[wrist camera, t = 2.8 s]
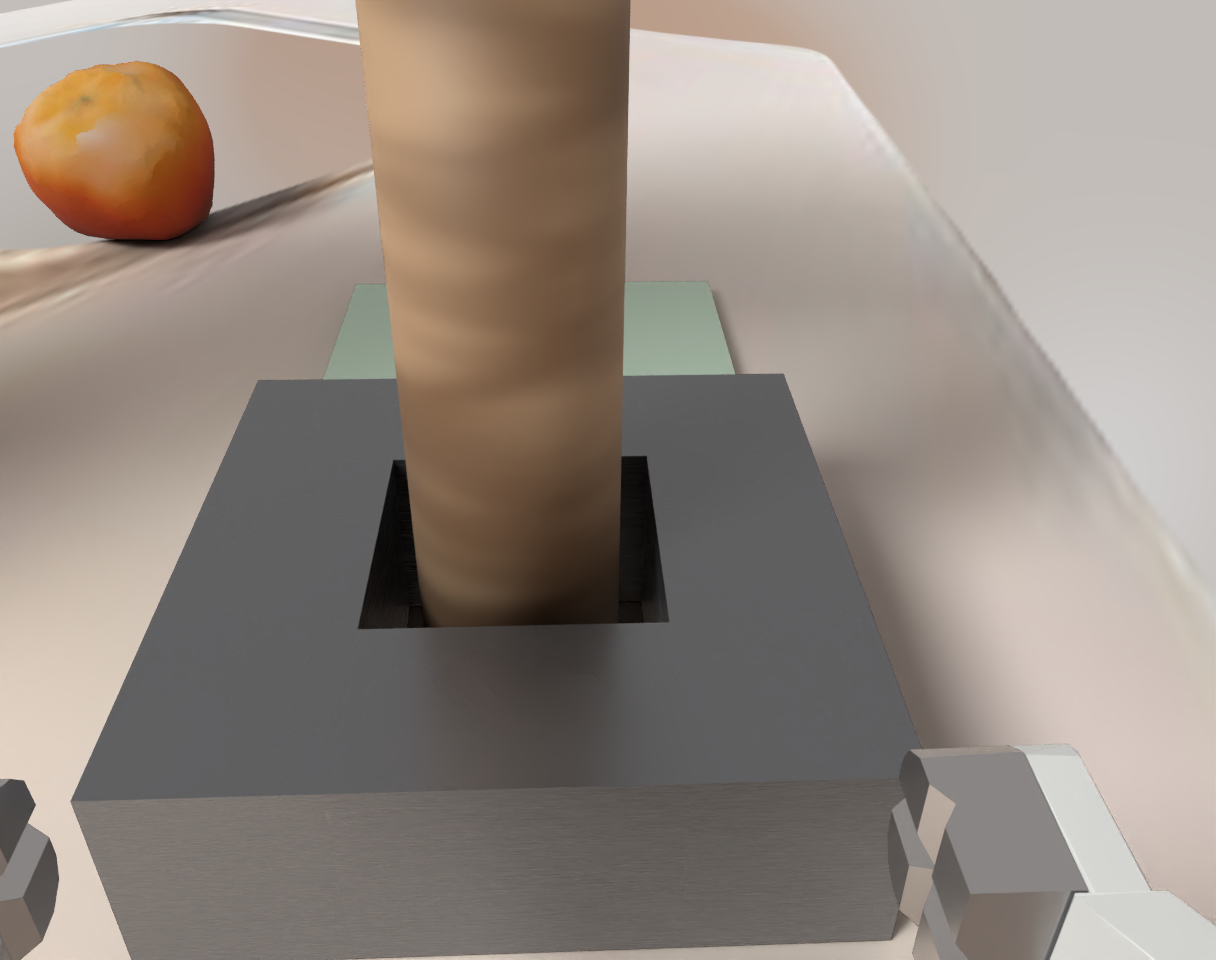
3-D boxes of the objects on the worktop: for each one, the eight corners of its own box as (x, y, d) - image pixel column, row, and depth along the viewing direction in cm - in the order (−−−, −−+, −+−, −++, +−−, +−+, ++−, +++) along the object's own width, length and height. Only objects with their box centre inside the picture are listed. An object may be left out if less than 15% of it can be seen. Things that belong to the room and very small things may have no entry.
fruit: (279, 164, 54) (203, 32, 46) (216, 299, 50) (124, 180, 43) (133, 148, 55) (39, 19, 48) (64, 278, 52) (-48, 159, 45)
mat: (303, 461, 34) (300, 445, 34) (357, 298, 44) (355, 284, 44) (752, 454, 35) (754, 438, 35) (707, 295, 45) (708, 281, 45)
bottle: (422, 759, 25) (290, -348, 14) (438, 626, 28) (344, -331, 17) (621, 753, 25) (648, -342, 14) (612, 622, 28) (627, -327, 18)
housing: (134, 966, 20) (70, 801, 18) (283, 518, 32) (258, 380, 29) (890, 940, 21) (932, 776, 18) (768, 509, 33) (783, 373, 30)
